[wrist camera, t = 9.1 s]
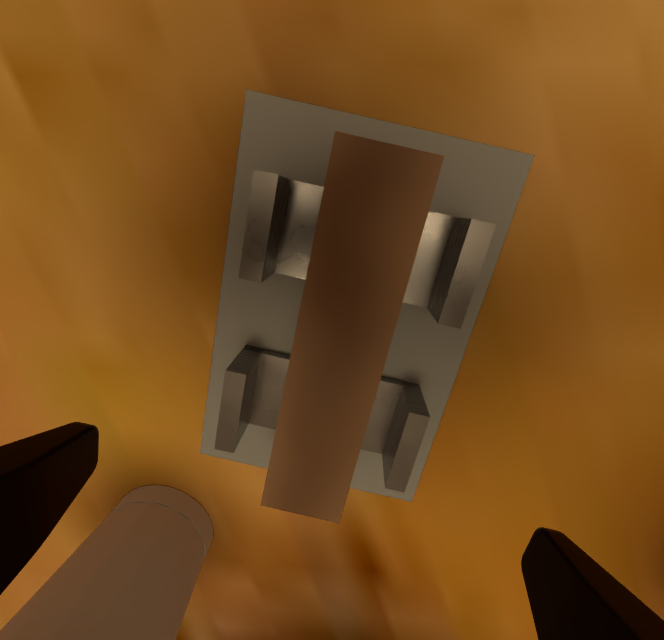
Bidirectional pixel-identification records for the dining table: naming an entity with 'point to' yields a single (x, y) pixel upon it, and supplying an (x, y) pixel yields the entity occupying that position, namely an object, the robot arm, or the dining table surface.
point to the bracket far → (265, 400)
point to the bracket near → (298, 234)
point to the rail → (347, 318)
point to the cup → (124, 574)
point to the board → (286, 292)
